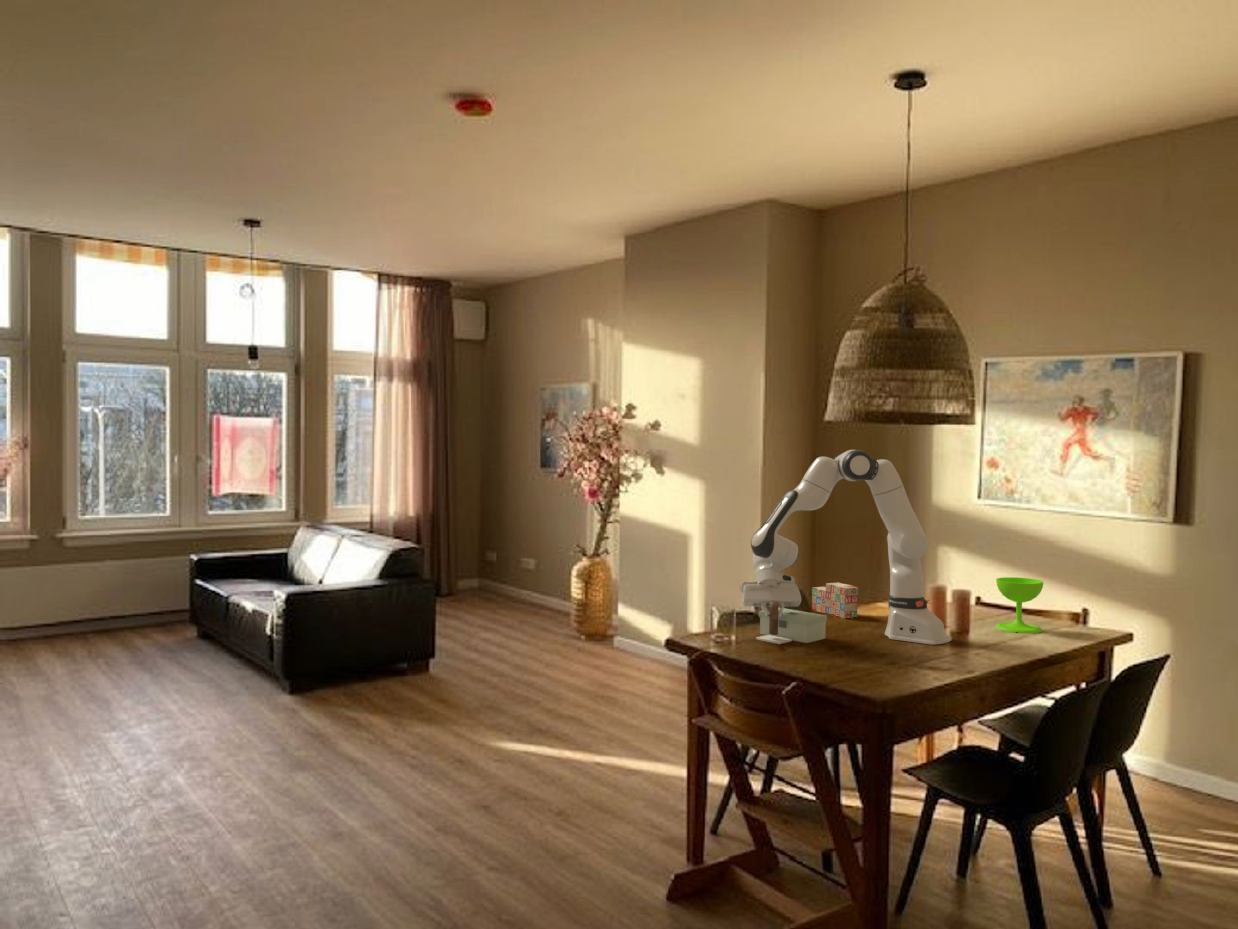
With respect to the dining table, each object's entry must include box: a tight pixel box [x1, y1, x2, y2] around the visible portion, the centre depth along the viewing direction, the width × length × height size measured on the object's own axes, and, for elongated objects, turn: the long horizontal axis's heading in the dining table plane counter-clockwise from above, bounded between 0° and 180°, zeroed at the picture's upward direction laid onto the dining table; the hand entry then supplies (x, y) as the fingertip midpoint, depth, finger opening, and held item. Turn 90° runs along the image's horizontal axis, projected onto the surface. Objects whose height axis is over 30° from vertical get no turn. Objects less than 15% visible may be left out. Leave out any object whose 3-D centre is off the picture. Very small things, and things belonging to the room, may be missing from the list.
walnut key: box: [768, 601, 779, 635], centre depth 313 cm, size 3×3×11 cm
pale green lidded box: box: [758, 607, 828, 644], centre depth 320 cm, size 21×12×8 cm, turn 42°
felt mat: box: [755, 635, 793, 645], centre depth 313 cm, size 10×7×1 cm
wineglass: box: [995, 576, 1044, 634], centre depth 335 cm, size 16×16×18 cm
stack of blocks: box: [811, 582, 859, 619], centre depth 364 cm, size 21×6×12 cm, turn 24°
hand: (774, 615), depth 313 cm, fingers closed on walnut key, 3 cm apart
